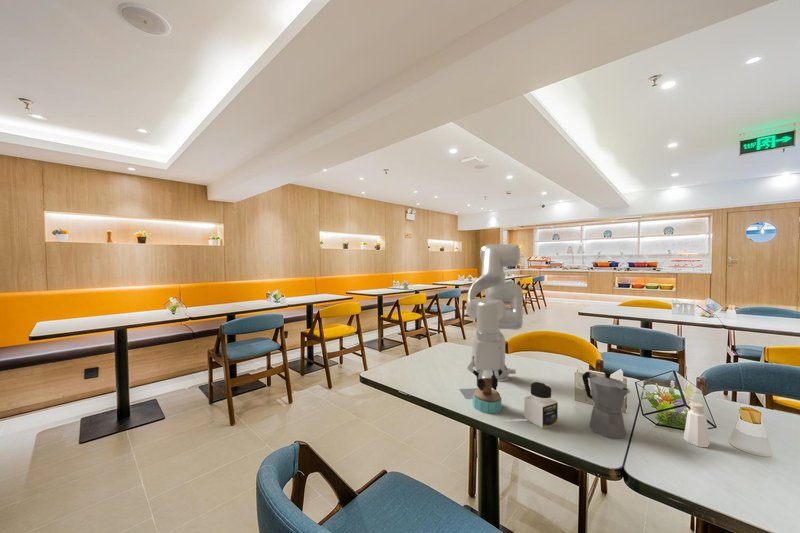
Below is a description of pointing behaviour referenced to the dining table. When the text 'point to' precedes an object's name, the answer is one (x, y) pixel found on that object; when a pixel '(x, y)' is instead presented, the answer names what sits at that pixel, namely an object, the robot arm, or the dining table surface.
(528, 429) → the dining table surface
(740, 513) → the dining table surface
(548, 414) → the medicine bottle
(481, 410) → the bowl
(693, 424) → the salt shaker
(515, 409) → the dining table surface
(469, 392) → the mat
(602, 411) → the coffeepot
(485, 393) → the lid
